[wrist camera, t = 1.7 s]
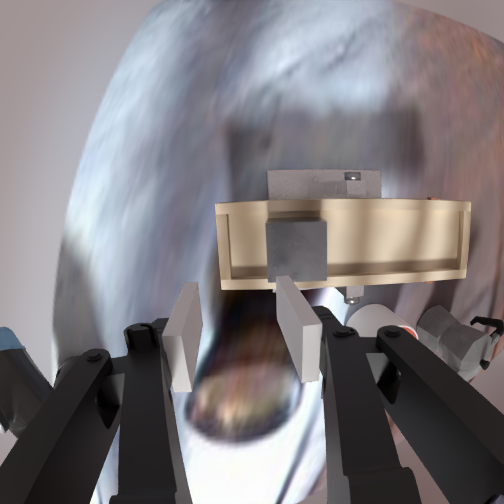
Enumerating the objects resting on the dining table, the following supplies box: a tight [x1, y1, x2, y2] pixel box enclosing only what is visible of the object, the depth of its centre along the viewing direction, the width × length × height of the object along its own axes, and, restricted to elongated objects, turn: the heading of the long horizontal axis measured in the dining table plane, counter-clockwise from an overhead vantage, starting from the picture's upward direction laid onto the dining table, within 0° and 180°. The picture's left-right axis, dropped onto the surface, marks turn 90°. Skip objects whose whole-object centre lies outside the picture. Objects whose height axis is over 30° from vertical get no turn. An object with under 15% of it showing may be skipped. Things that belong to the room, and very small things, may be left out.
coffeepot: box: [416, 304, 504, 381], centre depth 41 cm, size 15×9×18 cm, turn 126°
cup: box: [346, 304, 418, 339], centre depth 43 cm, size 10×10×10 cm
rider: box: [265, 217, 327, 283], centre depth 31 cm, size 6×6×5 cm
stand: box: [267, 169, 381, 305], centre depth 39 cm, size 18×18×11 cm
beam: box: [215, 197, 471, 290], centre depth 33 cm, size 32×11×4 cm, turn 93°
